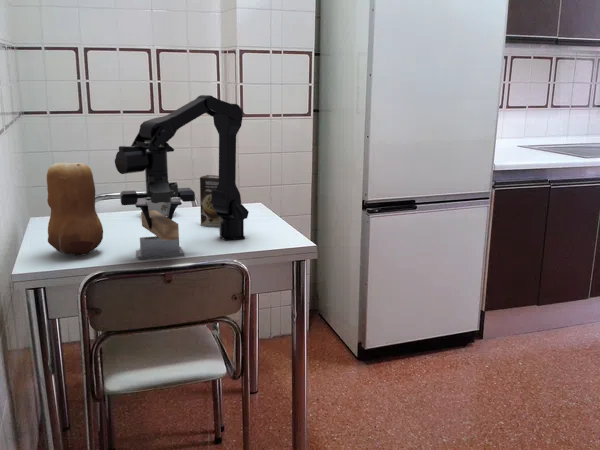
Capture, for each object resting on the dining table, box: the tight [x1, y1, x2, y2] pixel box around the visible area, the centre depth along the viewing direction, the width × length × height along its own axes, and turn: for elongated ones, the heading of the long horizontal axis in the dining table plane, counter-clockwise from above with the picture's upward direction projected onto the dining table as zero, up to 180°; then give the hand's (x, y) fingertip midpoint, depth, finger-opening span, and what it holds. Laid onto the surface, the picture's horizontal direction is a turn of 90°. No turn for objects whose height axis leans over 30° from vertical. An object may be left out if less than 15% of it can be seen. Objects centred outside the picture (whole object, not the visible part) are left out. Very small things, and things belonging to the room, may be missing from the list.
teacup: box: [146, 200, 168, 216], centre depth 198 cm, size 15×12×8 cm
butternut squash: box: [46, 161, 104, 257], centre depth 152 cm, size 14×13×25 cm
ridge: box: [135, 235, 185, 261], centre depth 154 cm, size 12×6×5 cm, turn 111°
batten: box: [140, 210, 180, 241], centre depth 153 cm, size 4×18×4 cm, turn 32°
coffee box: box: [199, 174, 221, 228], centre depth 187 cm, size 9×6×16 cm
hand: (159, 227), depth 153 cm, fingers closed on batten, 4 cm apart
